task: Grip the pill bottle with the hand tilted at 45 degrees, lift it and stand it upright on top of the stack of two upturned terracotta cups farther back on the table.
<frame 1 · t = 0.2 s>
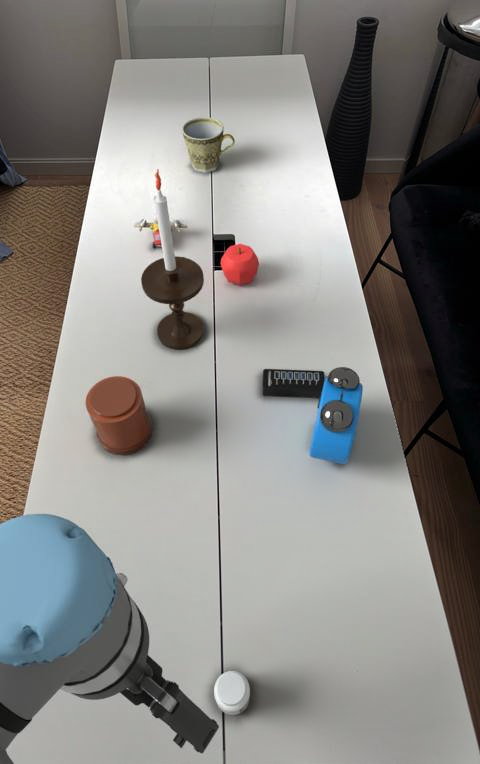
hand: (137, 677, 57), 16 cm above the table, tool pointing down, fingers open, 13 cm apart
alarm clock: (329, 441, 92), on the table
apple: (240, 278, 116), on the table
multiport hub: (292, 387, 99), on the table
ceramic cup: (211, 167, 139), on the table
pill bottle: (233, 695, 71), on the table
toy airplane: (162, 237, 124), on the table
cup stack: (125, 431, 94), on the table
candlestick: (180, 332, 107), on the table
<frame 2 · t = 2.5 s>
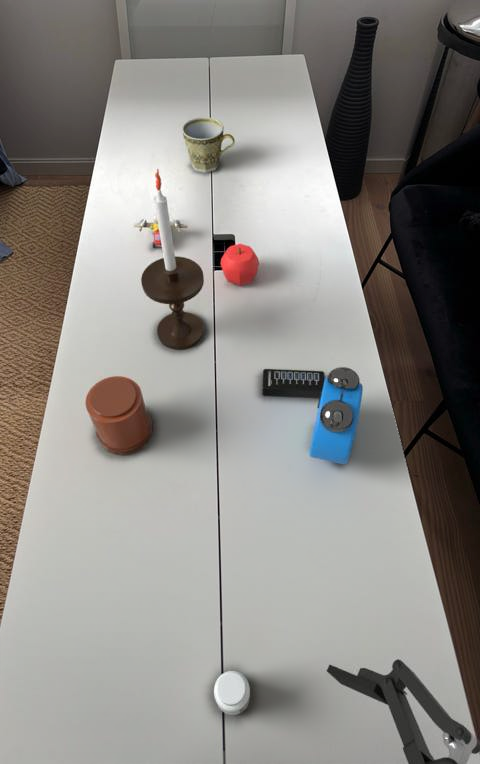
hand: (305, 738, 55), 15 cm above the table, tool tilted 45°, fingers open, 13 cm apart
nothing on the table moved.
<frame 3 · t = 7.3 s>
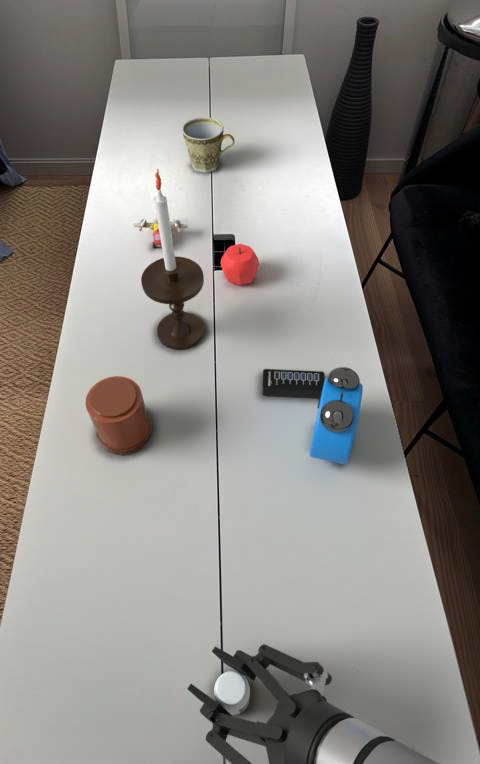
hand: (208, 673, 69), 3 cm above the table, tool tilted 45°, fingers closed on pill bottle, 4 cm apart
pill bottle: (233, 695, 71), on the table, touching gripper
everything else where it was.
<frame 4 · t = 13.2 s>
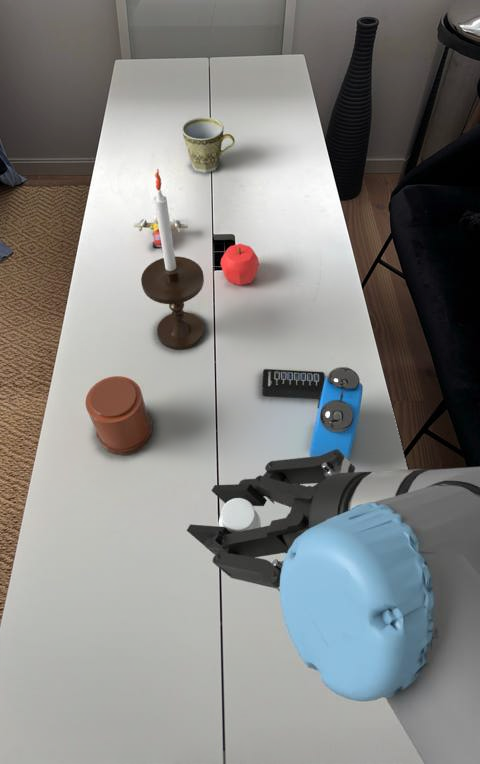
hand: (209, 514, 59), 25 cm above the table, tool tilted 45°, fingers closed on pill bottle, 4 cm apart
pill bottle: (241, 542, 61), point 21 cm above the table, touching gripper
everything else where it was.
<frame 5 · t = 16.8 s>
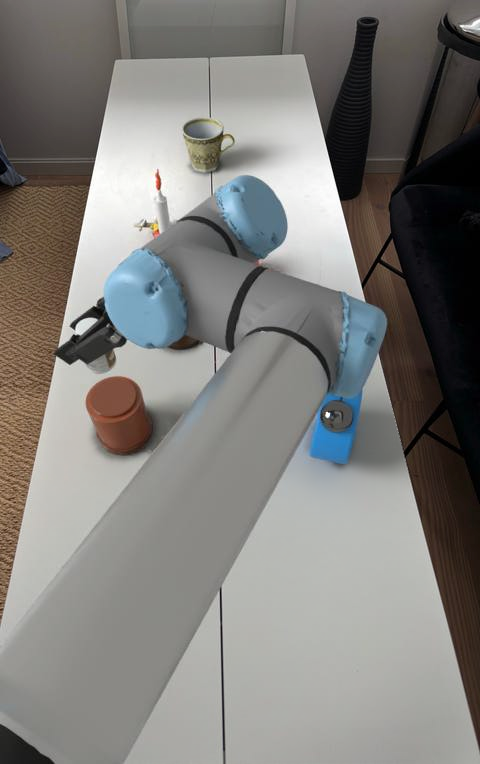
hand: (70, 343, 76), 22 cm above the table, tool tilted 45°, fingers closed on pill bottle, 4 cm apart
pill bottle: (101, 363, 79), point 19 cm above the table, touching gripper
everything else where it was.
when the fingers open (14 cm above the table, at t = 19.4 s): pill bottle stays where it is, resting on cup stack.
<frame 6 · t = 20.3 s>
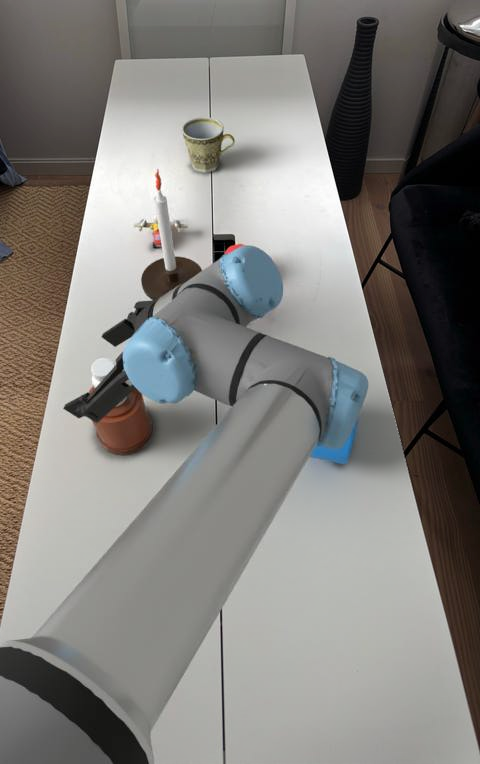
hand: (91, 374, 82), 16 cm above the table, tool tilted 45°, fingers open, 13 cm apart
pill bottle: (113, 397, 86), point 10 cm above the table, touching cup stack
everything else where it was.
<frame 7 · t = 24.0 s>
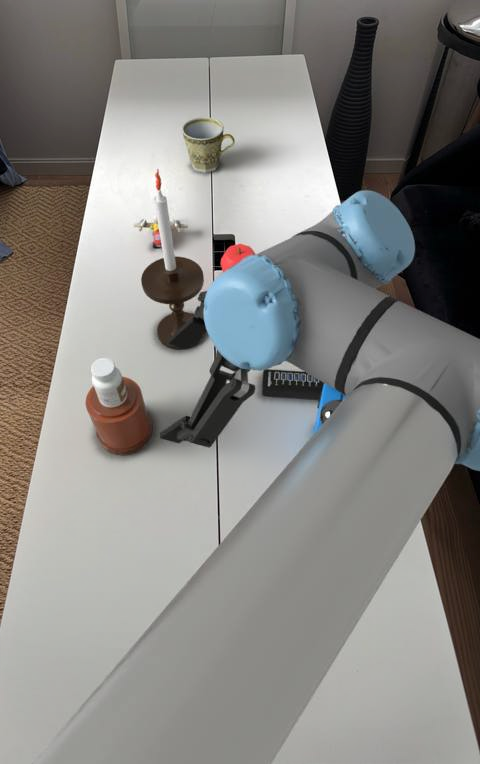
hand: (173, 389, 71), 23 cm above the table, tool tilted 35°, fingers open, 13 cm apart
nothing on the table moved.
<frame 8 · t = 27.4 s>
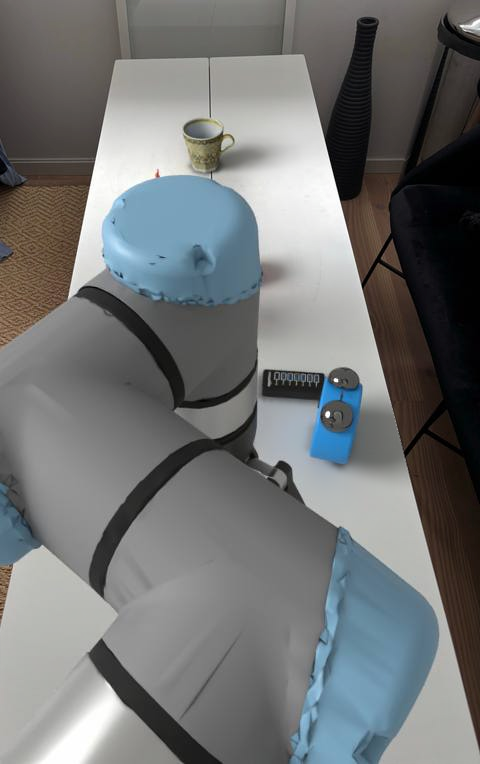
hand: (217, 516, 55), 29 cm above the table, tool pointing down, fingers open, 13 cm apart
nothing on the table moved.
at the end: pill bottle 0.1 cm off-centre on the cup stack, point 10.4 cm above the cup stack's base; pill bottle tilted 0°; the gripper is holding nothing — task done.
